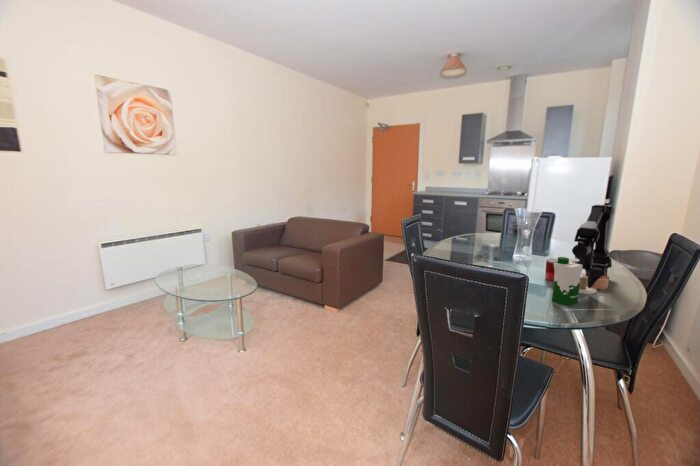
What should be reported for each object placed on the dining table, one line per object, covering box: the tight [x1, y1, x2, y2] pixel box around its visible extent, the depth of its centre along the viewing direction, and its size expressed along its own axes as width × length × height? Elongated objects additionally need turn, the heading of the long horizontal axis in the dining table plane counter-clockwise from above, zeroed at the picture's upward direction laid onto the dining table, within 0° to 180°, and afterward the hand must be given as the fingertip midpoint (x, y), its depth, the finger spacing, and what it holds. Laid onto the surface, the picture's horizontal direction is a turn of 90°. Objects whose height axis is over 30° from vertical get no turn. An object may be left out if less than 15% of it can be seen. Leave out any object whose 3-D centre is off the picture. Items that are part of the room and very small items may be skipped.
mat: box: [578, 289, 609, 297], centre depth 149 cm, size 14×14×1 cm
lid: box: [579, 276, 598, 295], centre depth 148 cm, size 11×11×6 cm
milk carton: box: [551, 256, 583, 307], centre depth 135 cm, size 9×9×20 cm
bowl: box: [581, 273, 610, 290], centre depth 154 cm, size 10×10×5 cm
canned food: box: [544, 258, 558, 283], centre depth 164 cm, size 8×8×11 cm
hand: (582, 284), depth 148 cm, fingers open, 9 cm apart
